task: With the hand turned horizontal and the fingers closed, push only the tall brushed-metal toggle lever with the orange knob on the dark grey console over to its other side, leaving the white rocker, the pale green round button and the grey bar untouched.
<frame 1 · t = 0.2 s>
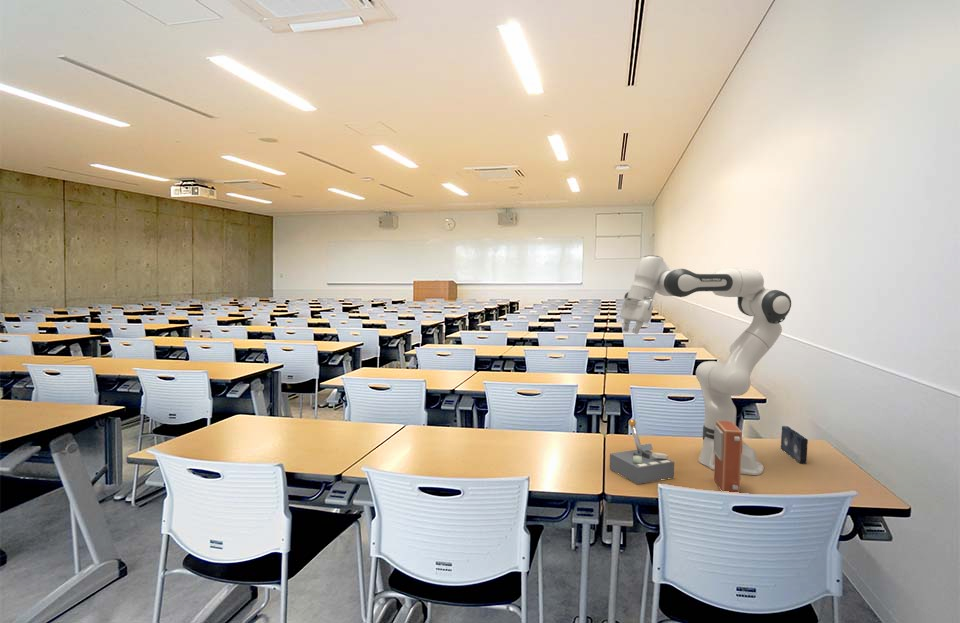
hand: (629, 332, 199), 51 cm above the table, tool tilted 15°, fingers open, 8 cm apart
rocker: (660, 455, 193), point 7 cm above the table, hinge at -10.0°
lever: (634, 430, 198), point 15 cm above the table, hinge at -28.0°
grey bar: (645, 447, 201), point 8 cm above the table, hinge at -28.0°
button: (637, 459, 189), point 7 cm above the table, slide at 0.0 cm
orange box: (725, 487, 183), on the table
console: (641, 473, 195), on the table
vhs cassette tape: (793, 456, 216), on the table
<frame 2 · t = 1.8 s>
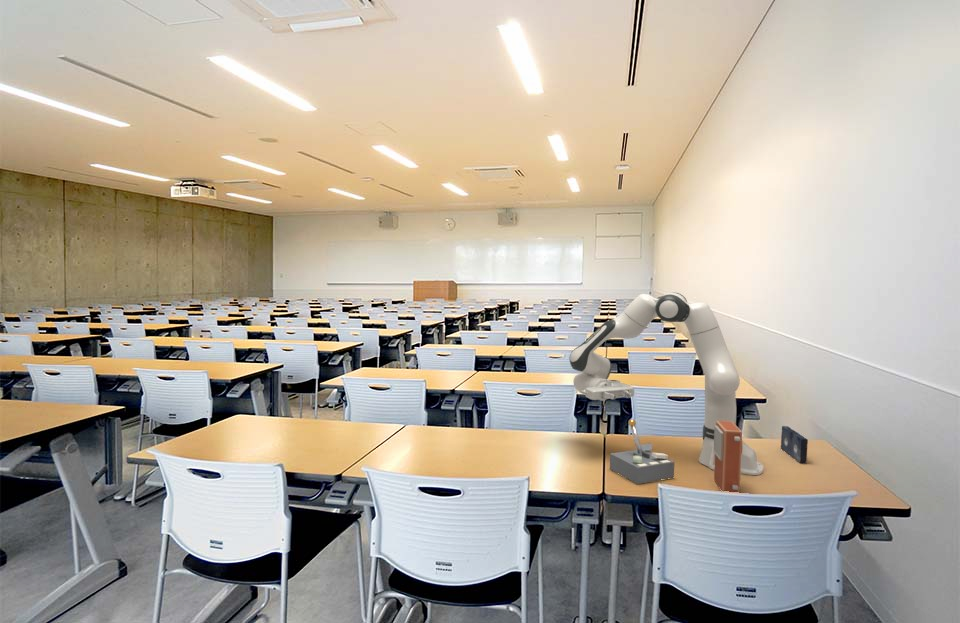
hand: (622, 396, 204), 26 cm above the table, tool horizontal, fingers open, 5 cm apart
nothing on the table moved.
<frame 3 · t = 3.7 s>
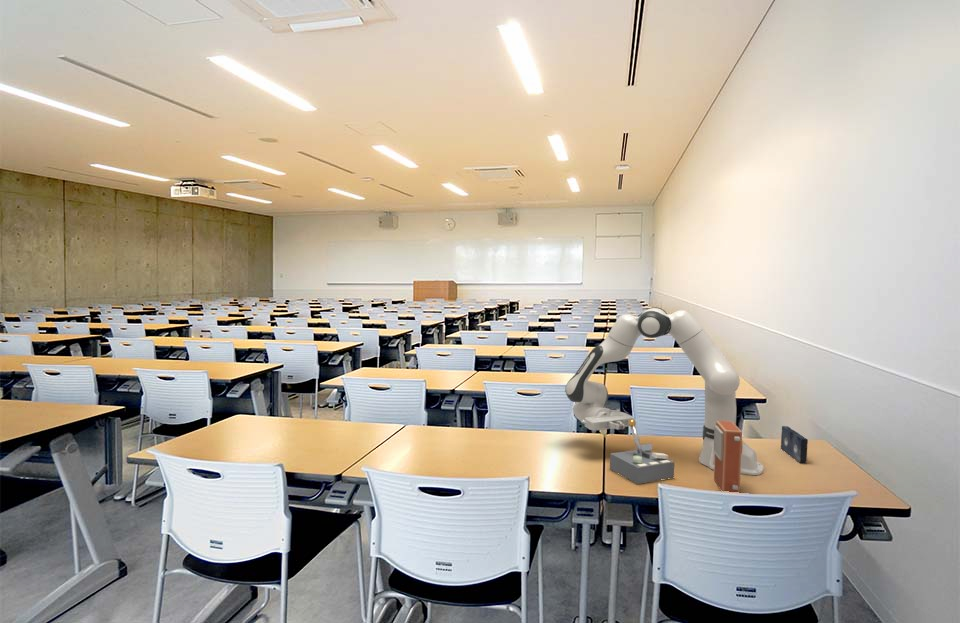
hand: (621, 427, 205), 14 cm above the table, tool horizontal, fingers closed
nothing on the table moved.
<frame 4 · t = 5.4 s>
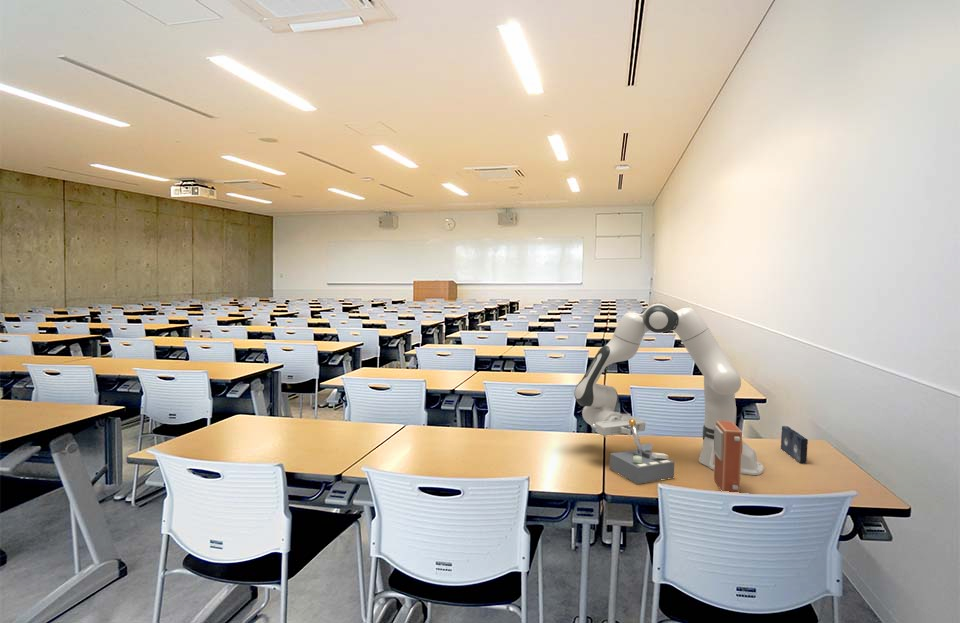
hand: (633, 432, 199), 14 cm above the table, tool horizontal, fingers closed, pressing on lever
lever: (634, 430, 198), point 15 cm above the table, hinge at -27.5°, touching gripper
everything else where it was.
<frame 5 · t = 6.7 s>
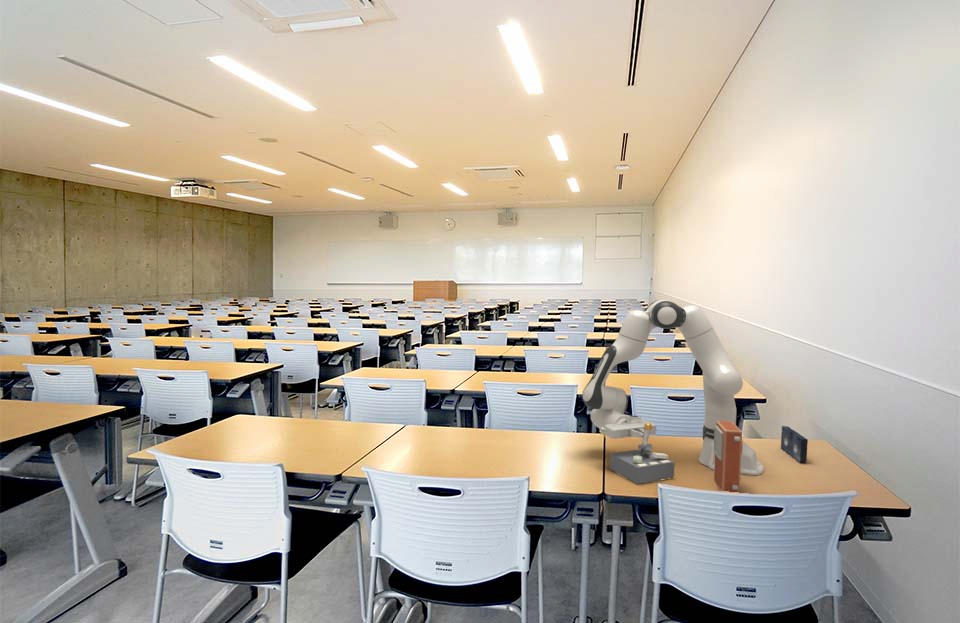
hand: (643, 435, 193), 15 cm above the table, tool horizontal, fingers closed, pressing on lever
lever: (646, 433, 192), point 16 cm above the table, hinge at 14.7°, touching gripper
everything else where it was.
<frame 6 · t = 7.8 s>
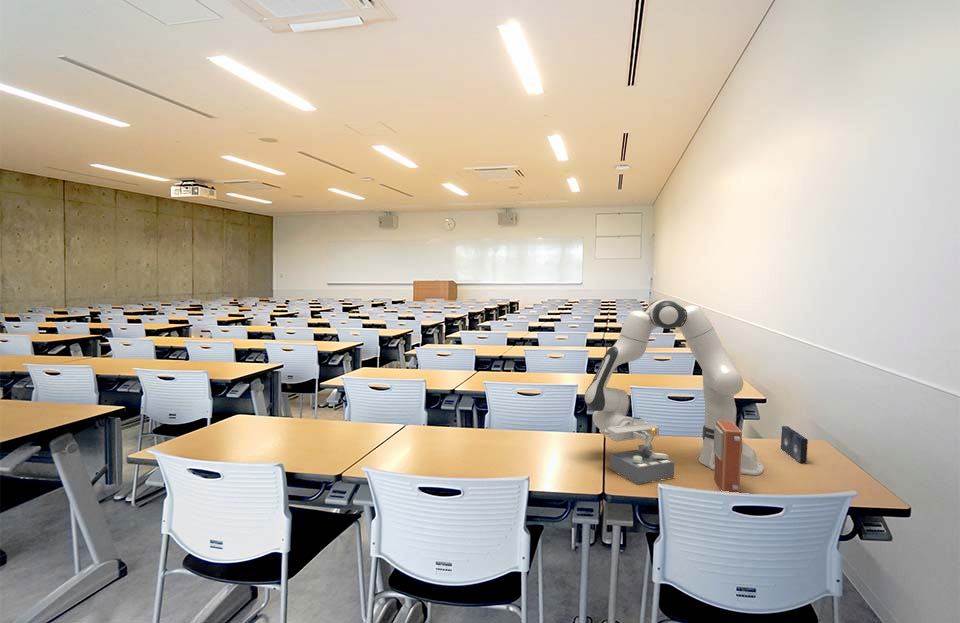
hand: (647, 438, 191), 14 cm above the table, tool horizontal, fingers closed, pressing on lever
lever: (650, 437, 190), point 15 cm above the table, hinge at 28.5°, touching gripper
everything else where it was.
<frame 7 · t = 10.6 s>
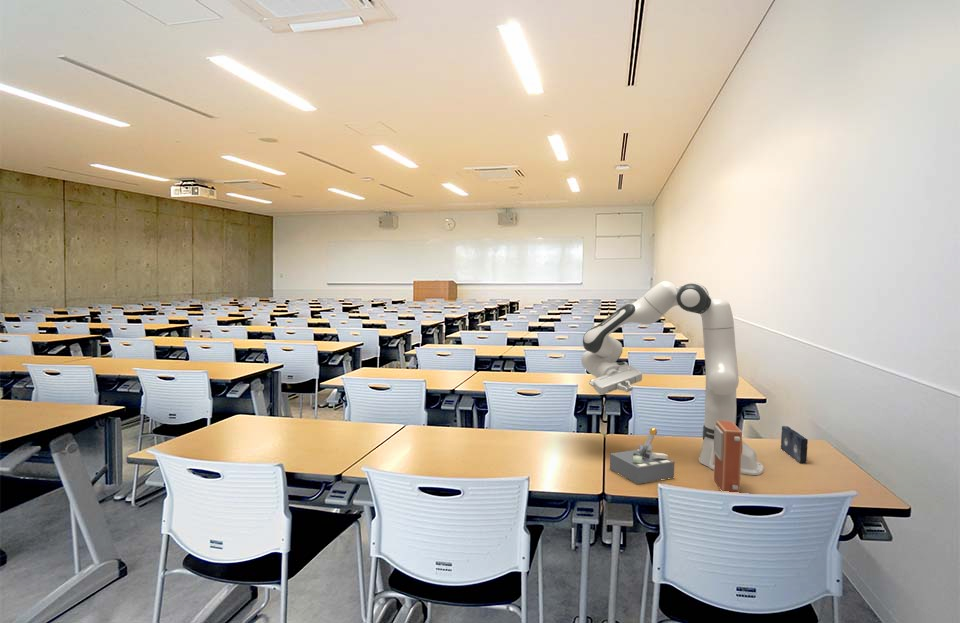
hand: (629, 389, 206), 28 cm above the table, tool tilted 75°, fingers closed
lever: (650, 437, 190), point 15 cm above the table, hinge at 28.6°
everything else where it was.
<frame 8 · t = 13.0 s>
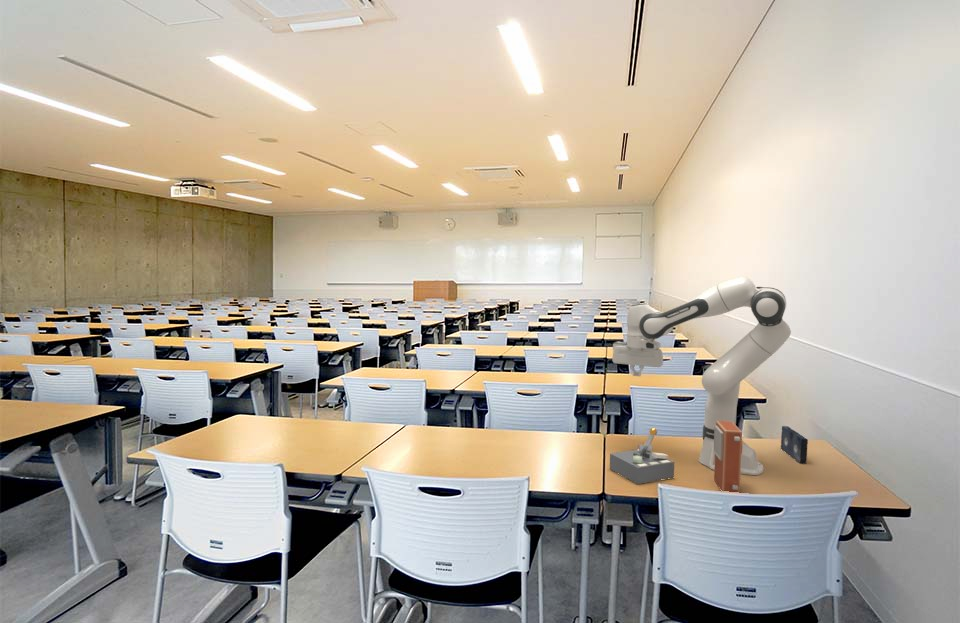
hand: (636, 375, 220), 31 cm above the table, tool pointing down, fingers closed
nothing on the table moved.
at the end: lever at +29° (first picture: -28°); rocker at -10° (first picture: -10°); grey bar at -28° (first picture: -28°) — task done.
